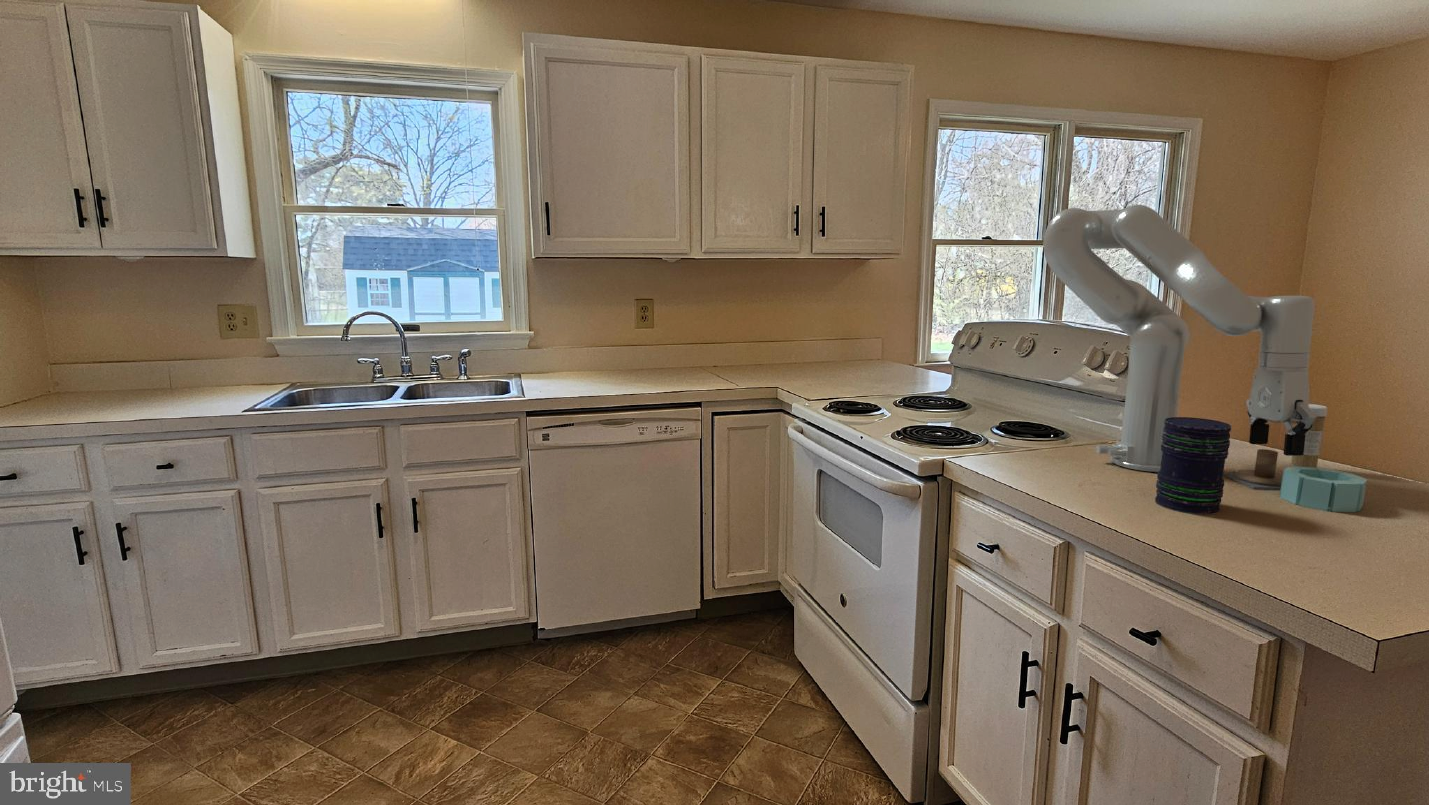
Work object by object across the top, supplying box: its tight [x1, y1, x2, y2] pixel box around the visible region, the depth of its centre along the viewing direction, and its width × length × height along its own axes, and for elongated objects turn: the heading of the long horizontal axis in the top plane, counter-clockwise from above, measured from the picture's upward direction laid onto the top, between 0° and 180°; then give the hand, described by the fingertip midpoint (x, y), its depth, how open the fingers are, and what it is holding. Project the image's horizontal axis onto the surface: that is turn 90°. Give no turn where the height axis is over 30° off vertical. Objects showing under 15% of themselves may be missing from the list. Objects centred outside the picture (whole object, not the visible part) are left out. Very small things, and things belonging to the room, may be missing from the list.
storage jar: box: [1154, 416, 1232, 515], centre depth 125 cm, size 10×10×15 cm
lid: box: [1235, 448, 1283, 487], centre depth 139 cm, size 9×9×6 cm
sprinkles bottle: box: [1289, 403, 1328, 468], centre depth 148 cm, size 5×5×13 cm
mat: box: [1223, 471, 1281, 491], centre depth 140 cm, size 10×10×1 cm
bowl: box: [1279, 466, 1368, 513], centre depth 128 cm, size 11×11×5 cm
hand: (1275, 449), depth 138 cm, fingers open, 9 cm apart
